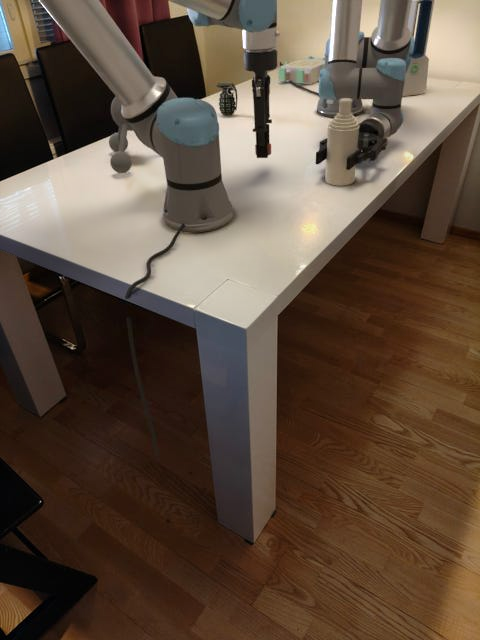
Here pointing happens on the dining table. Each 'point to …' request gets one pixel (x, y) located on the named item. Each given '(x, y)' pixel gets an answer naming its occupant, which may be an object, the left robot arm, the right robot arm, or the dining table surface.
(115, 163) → the molecular model
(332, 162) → the bottle
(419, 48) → the electronic device
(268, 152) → the cap
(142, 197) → the dining table surface
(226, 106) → the grenade
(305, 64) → the decorative block
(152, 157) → the dining table surface
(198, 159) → the left robot arm
